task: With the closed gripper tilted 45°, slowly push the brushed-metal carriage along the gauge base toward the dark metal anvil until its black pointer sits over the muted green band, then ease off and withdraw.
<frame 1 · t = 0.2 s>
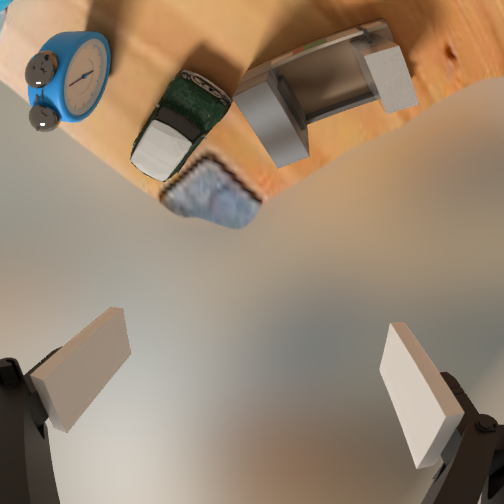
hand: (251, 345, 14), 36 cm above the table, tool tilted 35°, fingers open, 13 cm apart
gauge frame: (330, 72, 34), on the table
miniature car: (181, 120, 43), on the table
alarm clock: (96, 61, 35), on the table
carriage: (379, 63, 27), point 6 cm above the table, slide at 0.0 cm
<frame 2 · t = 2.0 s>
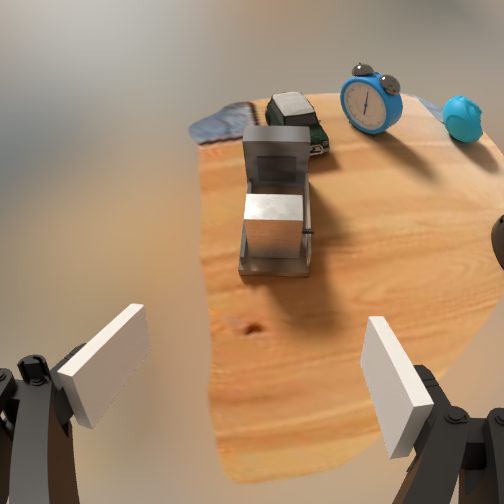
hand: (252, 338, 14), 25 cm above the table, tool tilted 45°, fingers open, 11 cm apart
blue round piece: (456, 136, 60), on the table
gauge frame: (276, 220, 49), on the table
miniature car: (295, 136, 61), on the table
alarm clock: (366, 127, 62), on the table
carriage: (281, 228, 41), point 6 cm above the table, slide at 0.0 cm
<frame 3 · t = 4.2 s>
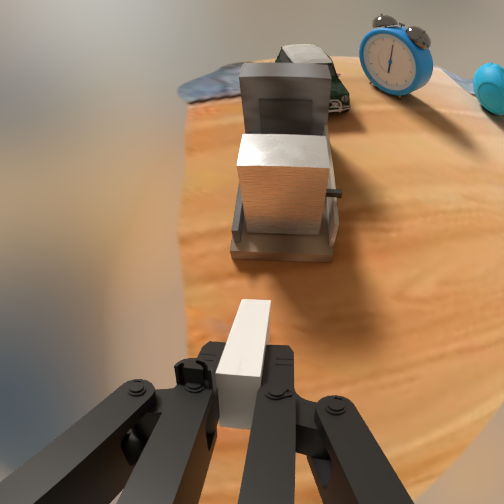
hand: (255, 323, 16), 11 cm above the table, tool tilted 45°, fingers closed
blue round piece: (488, 109, 46), on the table
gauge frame: (284, 186, 35), on the table
miniature car: (308, 94, 47), on the table
alarm clock: (390, 89, 47), on the table
carriage: (293, 187, 27), point 6 cm above the table, slide at 0.0 cm
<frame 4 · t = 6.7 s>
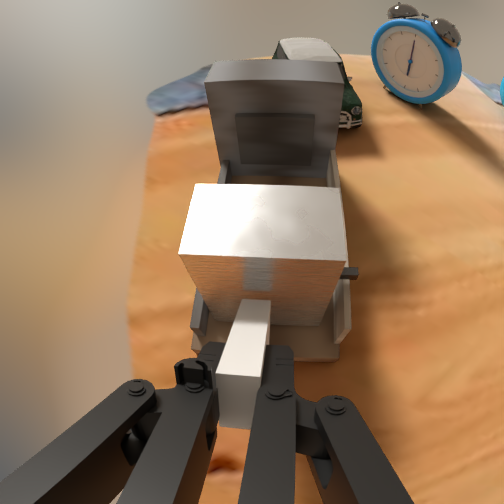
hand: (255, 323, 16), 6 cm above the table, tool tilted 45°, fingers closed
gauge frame: (273, 239, 26), on the table
miniature car: (310, 102, 37), on the table
alarm clock: (407, 96, 38), on the table
carriage: (282, 266, 17), point 6 cm above the table, slide at 0.1 cm, touching gripper
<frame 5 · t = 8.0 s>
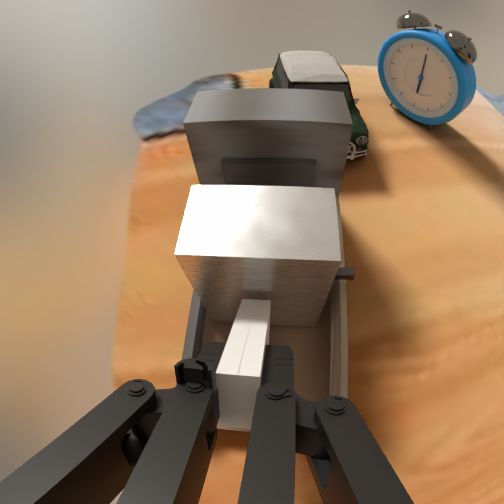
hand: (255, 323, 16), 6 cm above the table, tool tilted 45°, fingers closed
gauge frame: (266, 298, 23), on the table
miniature car: (311, 124, 35), on the table
alarm clock: (416, 114, 35), on the table
carriage: (279, 267, 17), point 6 cm above the table, slide at 5.4 cm, touching gripper
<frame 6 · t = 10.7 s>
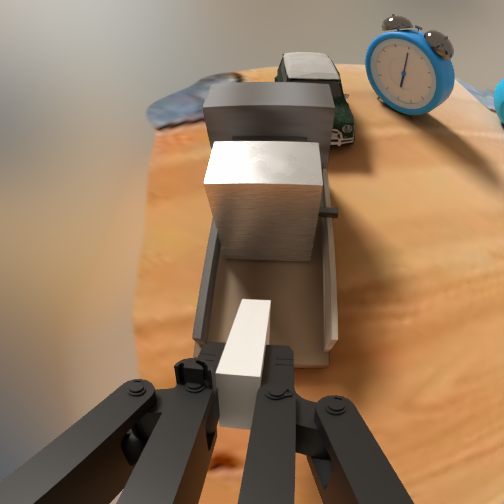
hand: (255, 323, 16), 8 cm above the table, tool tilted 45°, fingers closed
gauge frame: (268, 254, 27), on the table
miniature car: (309, 116, 39), on the table
alarm clock: (401, 106, 40), on the table
carriage: (279, 206, 22), point 6 cm above the table, slide at 6.4 cm
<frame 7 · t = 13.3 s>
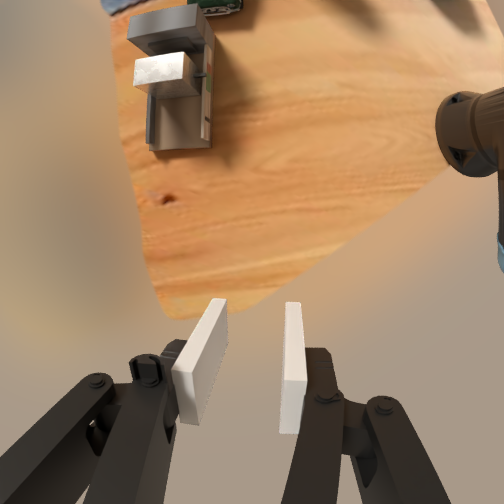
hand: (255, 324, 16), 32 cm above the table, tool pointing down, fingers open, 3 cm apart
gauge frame: (183, 90, 43), on the table
carriage: (175, 76, 37), point 6 cm above the table, slide at 6.4 cm
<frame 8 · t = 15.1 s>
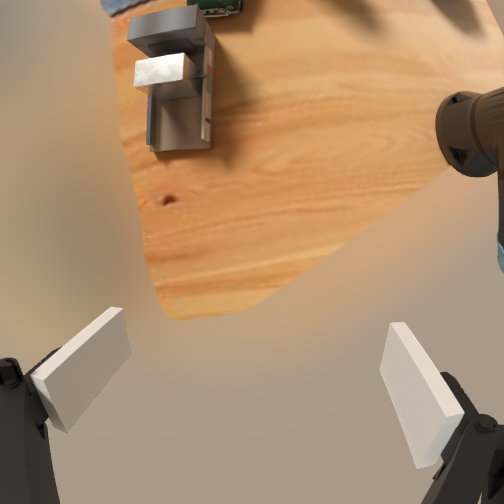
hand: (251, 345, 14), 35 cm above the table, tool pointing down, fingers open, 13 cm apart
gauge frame: (183, 91, 43), on the table
carriage: (175, 78, 37), point 6 cm above the table, slide at 6.4 cm
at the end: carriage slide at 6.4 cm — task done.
